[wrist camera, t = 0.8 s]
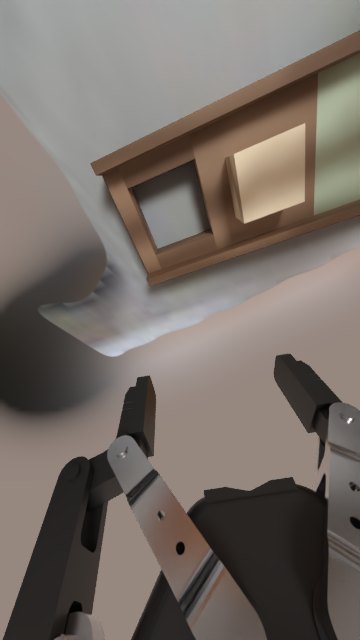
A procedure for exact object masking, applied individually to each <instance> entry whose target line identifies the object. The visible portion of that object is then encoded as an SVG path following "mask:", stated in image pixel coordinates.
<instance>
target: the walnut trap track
mask: <svg viewBox="0 0 360 640" xmlns="http://www.w3.org/2000/svg"><path fill="white" fill-rule="evenodd" d="M304 123H305V202H302V203H300V204H297V205H294V206H291V207H289V208H286V209H283V210H280V211H278V212H275V213H272V214H269V215H267V216H264V217H261V218H259V219H256V220H253V221H250V222H248V223H245V224H244V223H243V222H241V221H240V220H239V219H237V218H236V217H235V211H234V206H233V200H232V194H231V188H230V182H229V177H228V171H227V165H226V159H225V158H226V157H228V156H230V155H233V154H235V153H237V152H239V151H242V150H244V149H246V148H249V147H251V146H253V145H255V144H258V143H260V142H262V141H265V140H267V139H269V138H272V137H274V136H276V135H278V134H281V133H283V132H285V131H288V130H290V129H292V128H295V127H297V126H300V125H302V124H304ZM191 161H194V165H195V169H196V173H197V177H198V181H199V185H200V189H201V193H202V197H203V201H204V206H205V210H206V214H207V218H208V222H209V226H210V230H207V231H205V232H202V233H199V234H197V235H194V236H191V237H189V238H186V239H183V240H181V241H178V242H175V243H173V244H170V245H167V246H165V247H162V248H159V249H157V247H156V244H155V242H154V239H153V237H152V234H151V232H150V230H149V227H148V225H147V222H146V220H145V217H144V215H143V213H142V210H141V208H140V205H139V203H138V201H137V198H136V196H135V193H134V191H133V187H135V186H137V185H139V184H141V183H144V182H146V181H148V180H150V179H153V178H155V177H157V176H159V175H162V174H164V173H166V172H168V171H171V170H173V169H175V168H177V167H180V166H182V165H184V164H186V163H188V162H191ZM90 164H91V166H92V168H93V170H94V172H95V174H96V175H102V176H103V178H104V181H105V183H106V185H107V187H108V189H109V191H110V193H111V195H112V198H113V200H114V202H115V204H116V206H117V208H118V210H119V212H120V214H121V217H122V219H123V221H124V223H125V225H126V227H127V229H128V231H129V234H130V236H131V238H132V240H133V242H134V244H135V246H136V248H137V250H138V253H139V255H140V257H141V259H142V261H143V263H144V265H145V267H146V270H147V272H148V277H147V281H148V283H149V285H150V286H151V285H154V284H157V283H160V282H163V281H166V280H169V279H172V278H175V277H178V276H181V275H184V274H187V273H189V272H192V271H195V270H198V269H201V268H204V267H207V266H210V265H213V264H216V263H219V262H222V261H225V260H228V259H231V258H234V257H237V256H240V255H243V254H246V253H249V252H252V251H255V250H258V249H260V248H263V247H266V246H269V245H272V244H275V243H278V242H281V241H284V240H287V239H290V238H293V237H296V236H299V235H302V234H305V233H308V232H311V231H314V230H317V229H320V228H323V227H326V226H329V225H331V224H334V223H337V222H340V221H343V220H346V219H349V218H352V217H355V216H358V215H360V31H358V32H356V33H354V34H352V35H350V36H348V37H346V38H344V39H342V40H340V41H337V42H335V43H333V44H331V45H329V46H327V47H325V48H323V49H321V50H319V51H317V52H315V53H313V54H311V55H309V56H307V57H305V58H303V59H301V60H299V61H297V62H295V63H293V64H291V65H289V66H287V67H285V68H283V69H281V70H279V71H277V72H275V73H273V74H271V75H269V76H267V77H265V78H263V79H261V80H258V81H256V82H254V83H252V84H250V85H248V86H246V87H244V88H242V89H240V90H238V91H236V92H234V93H232V94H230V95H228V96H226V97H224V98H222V99H220V100H218V101H216V102H214V103H212V104H210V105H208V106H206V107H204V108H202V109H200V110H198V111H196V112H194V113H192V114H190V115H188V116H186V117H184V118H182V119H179V120H177V121H175V122H173V123H171V124H169V125H167V126H165V127H163V128H161V129H159V130H157V131H155V132H153V133H151V134H149V135H147V136H145V137H143V138H141V139H139V140H137V141H135V142H133V143H131V144H129V145H127V146H125V147H123V148H121V149H119V150H117V151H115V152H113V153H111V154H109V155H107V156H105V157H103V158H100V159H98V160H96V161H94V162H92V163H90Z"/></svg>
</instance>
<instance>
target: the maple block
mask: <svg viewBox="0 0 360 640" xmlns="http://www.w3.org/2000/svg"><path fill="white" fill-rule="evenodd" d="M225 159H226V165H227V171H228V177H229V182H230V188H231V194H232V200H233V206H234V211H235V217H236V218H237V219H239V220H240V221H241V222H243V223H244V224H245V223H248V222H250V221H253V220H256V219H259V218H261V217H264V216H267V215H269V214H272V213H275V212H278V211H280V210H283V209H286V208H289V207H291V206H294V205H297V204H300V203H302V202H305V123H304V124H302V125H300V126H297V127H295V128H292V129H290V130H288V131H285V132H283V133H281V134H278V135H276V136H274V137H272V138H269V139H267V140H265V141H262V142H260V143H258V144H255V145H253V146H251V147H249V148H246V149H244V150H242V151H239V152H237V153H235V154H233V155H230V156H228V157H226V158H225Z"/></svg>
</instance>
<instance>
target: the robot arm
mask: <svg viewBox="0 0 360 640" xmlns="http://www.w3.org/2000/svg"><path fill="white" fill-rule="evenodd" d="M274 378H275V381H276V383H277V384H278V386H279V388H280V389H281V391H282V392H283V394H284V396H285V397H286V399H287V400H288V402H289V404H290V405H291V407H292V408H293V410H294V411H295V413H296V415H297V416H298V418H299V419H300V421H301V423H302V424H303V426H304V427H305V429H306V430H307V432H308V433H312V432H316V433H317V434H318V436H319V439H318V449H317V461H316V462H317V463H316V473H315V479H314V483H313V490H311V489H309V488H307V487H304V486H301V485H297V484H295V482H294V480H293V477H290V478H283V479H277V480H270V481H268V482H267V483H265V484H263V485H261V486H259V487H257V488H255V489H254V490H251V491H245V490H239V489H233V488H227V487H223V488H217V489H210V490H204V495H205V497H204V498H202V499H200V500H199V501H197V502H196V503H195V504H194V505H193V506H192V507H191V508H190V509H189V511H188V512H187V513H186V512H185V510H184V509H183V507H182V506H181V505H180V503H179V502H178V500H177V499H176V497H175V496H174V494H173V493H172V492H171V490H170V489H169V487H168V486H167V484H166V483H165V482H164V480H163V479H162V477H161V476H160V474H159V473H158V472H157V471H156V470H155V469H154V468H153V467H152V465H151V464H150V462H149V461H148V457H150V456H154V435H155V434H154V433H155V411H156V395H155V391H154V387H153V384H152V381H151V378H150V376H144V377H138V378H137V383H136V386H135V387H130V388H129V390H128V392H127V393H126V395H125V400H124V405H123V411H122V414H121V419H120V424H119V428H118V433H117V437H116V439H115V440H114V441H113V443H112V444H111V445H110V447H109V449H108V450H106V451H105V452H104V453H101V454H99V455H97V456H96V457H93V458H91V459H89V460H88V459H87V458H85V457H77V458H74V459H72V460H71V461H70V462H68V463H67V464H66V465H65V467H64V468H63V469H62V471H61V473H60V475H59V477H58V480H57V483H56V486H55V489H54V492H53V495H52V498H51V501H50V503H49V507H48V509H47V512H46V515H45V518H44V521H43V524H42V527H41V530H40V533H39V536H38V538H37V541H36V544H35V547H34V550H33V553H32V556H31V559H30V562H29V565H28V568H27V571H26V574H25V576H24V579H23V582H22V585H21V588H20V591H19V594H18V597H17V600H16V603H15V606H14V609H13V611H12V614H11V617H10V620H9V623H8V626H7V629H6V632H5V635H4V638H3V640H104V631H103V627H102V624H101V622H100V621H99V619H98V618H97V617H95V616H93V615H92V608H93V601H94V594H95V587H96V581H97V574H98V567H99V560H100V553H101V546H102V539H103V533H104V526H105V519H106V512H107V505H108V501H109V500H111V499H112V498H114V497H116V496H118V495H119V494H121V493H123V492H124V493H125V495H126V497H127V501H128V503H129V505H130V507H131V509H132V511H133V513H134V515H135V517H136V519H137V521H138V523H139V525H140V527H141V529H142V531H143V533H144V535H145V537H146V539H147V541H148V543H149V545H150V547H151V549H152V551H153V553H154V555H155V557H156V559H157V561H158V563H159V565H160V567H161V572H160V574H159V576H158V579H157V581H156V583H155V585H154V588H153V590H152V593H151V595H150V597H149V599H148V602H147V604H146V607H145V609H144V611H143V613H142V616H141V618H140V620H139V622H138V625H137V627H136V630H135V632H134V634H133V636H132V639H131V640H360V411H359V410H358V409H357V408H355V407H353V406H351V405H349V404H346V403H343V402H342V401H340V399H339V398H338V397H337V396H336V395H335V394H334V393H333V392H332V391H331V389H330V388H329V387H328V386H327V385H326V384H325V383H324V382H323V381H322V380H321V379H320V377H319V376H318V375H317V374H316V373H315V372H314V371H313V370H312V368H311V367H310V366H309V365H307V364H305V363H303V362H302V361H296V360H295V359H294V357H293V356H292V355H291V354H284V355H278V356H276V360H275V368H274Z"/></svg>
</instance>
